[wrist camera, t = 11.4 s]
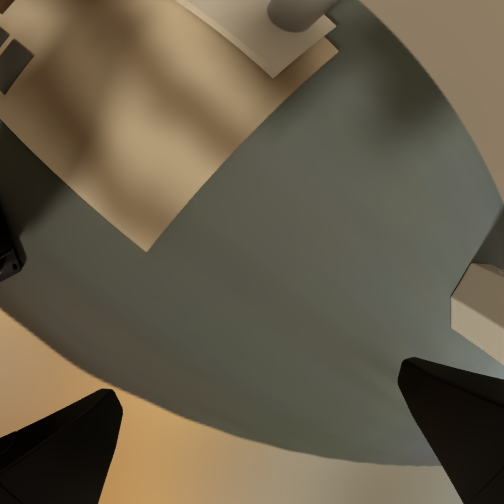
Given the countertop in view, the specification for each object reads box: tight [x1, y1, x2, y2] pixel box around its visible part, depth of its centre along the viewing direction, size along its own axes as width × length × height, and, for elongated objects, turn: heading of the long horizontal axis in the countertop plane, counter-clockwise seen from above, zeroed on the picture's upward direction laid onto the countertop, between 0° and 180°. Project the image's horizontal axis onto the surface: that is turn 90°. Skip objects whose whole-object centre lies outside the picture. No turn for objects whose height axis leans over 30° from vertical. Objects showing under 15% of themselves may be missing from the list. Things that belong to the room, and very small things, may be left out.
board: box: [0, 0, 339, 252], centre depth 13 cm, size 18×25×1 cm
